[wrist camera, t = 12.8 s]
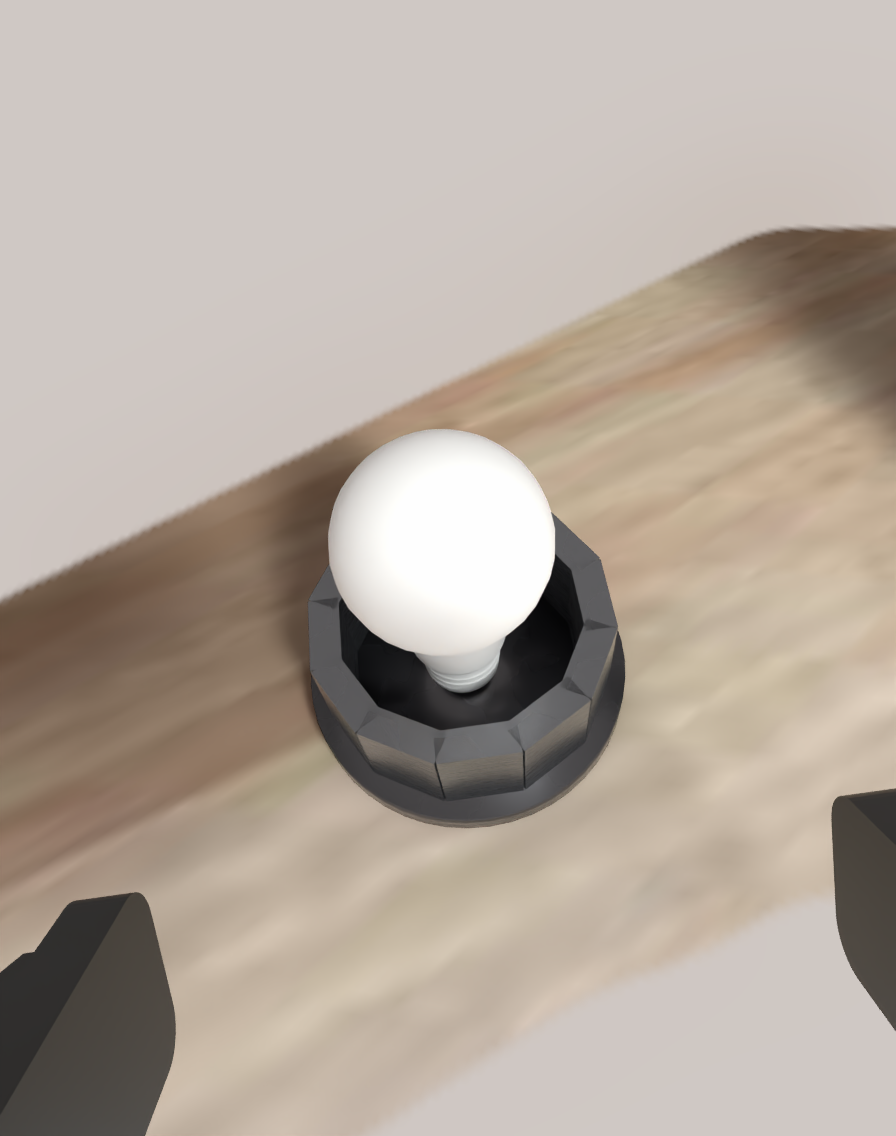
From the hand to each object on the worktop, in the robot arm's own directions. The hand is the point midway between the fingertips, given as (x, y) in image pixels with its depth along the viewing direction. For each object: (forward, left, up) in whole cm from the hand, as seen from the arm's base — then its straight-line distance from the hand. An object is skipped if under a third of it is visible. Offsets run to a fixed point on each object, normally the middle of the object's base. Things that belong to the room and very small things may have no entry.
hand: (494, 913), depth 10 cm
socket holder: (0, -11, -17) cm, 21 cm away
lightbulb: (0, -11, -17) cm, 20 cm away
